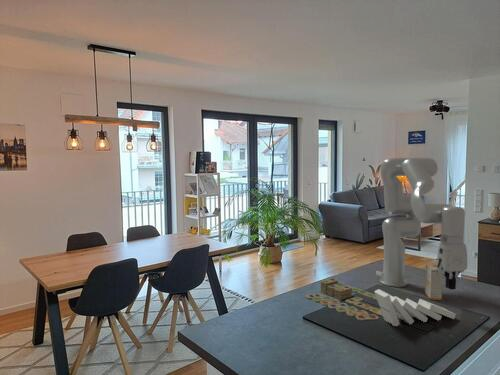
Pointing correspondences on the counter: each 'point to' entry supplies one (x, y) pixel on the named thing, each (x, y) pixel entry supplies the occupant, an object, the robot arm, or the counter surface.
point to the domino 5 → (436, 309)
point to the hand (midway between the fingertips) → (450, 288)
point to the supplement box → (433, 283)
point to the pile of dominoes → (342, 292)
